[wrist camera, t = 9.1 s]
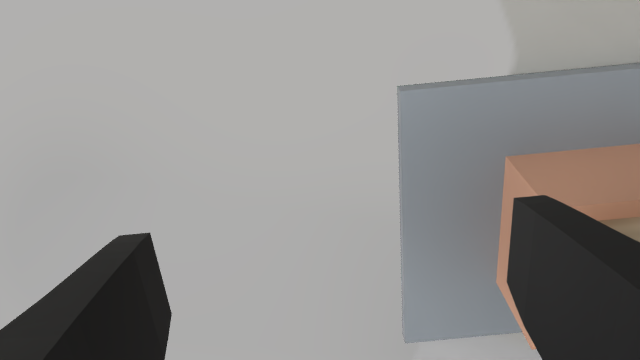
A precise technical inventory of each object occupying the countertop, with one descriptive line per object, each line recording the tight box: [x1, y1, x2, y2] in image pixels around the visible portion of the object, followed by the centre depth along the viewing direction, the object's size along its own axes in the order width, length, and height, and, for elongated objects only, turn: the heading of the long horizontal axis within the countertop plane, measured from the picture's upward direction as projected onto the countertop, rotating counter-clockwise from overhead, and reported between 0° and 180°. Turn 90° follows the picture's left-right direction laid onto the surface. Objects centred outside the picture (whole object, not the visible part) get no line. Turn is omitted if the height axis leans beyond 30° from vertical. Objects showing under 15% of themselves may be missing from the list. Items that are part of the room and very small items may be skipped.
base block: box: [496, 144, 640, 349], centre depth 21 cm, size 6×6×4 cm
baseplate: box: [397, 63, 640, 343], centre depth 23 cm, size 14×12×1 cm
